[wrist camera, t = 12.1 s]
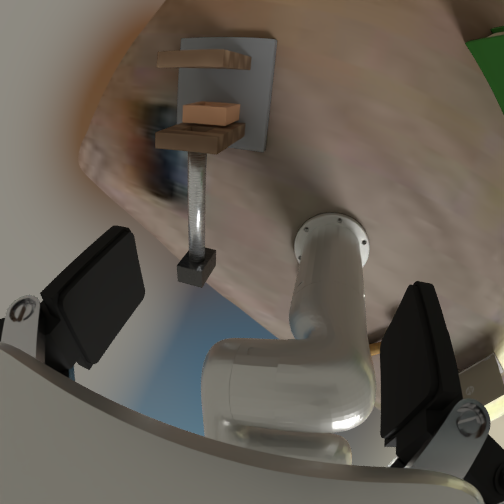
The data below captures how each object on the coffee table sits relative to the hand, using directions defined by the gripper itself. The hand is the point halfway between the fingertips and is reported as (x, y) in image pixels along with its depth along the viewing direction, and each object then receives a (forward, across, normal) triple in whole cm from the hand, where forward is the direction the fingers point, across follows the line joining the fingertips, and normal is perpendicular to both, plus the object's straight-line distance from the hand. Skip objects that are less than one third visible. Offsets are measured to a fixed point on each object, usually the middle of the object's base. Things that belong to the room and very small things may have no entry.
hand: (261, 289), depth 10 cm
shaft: (+30, +14, +13) cm, 36 cm away
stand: (+35, +14, -3) cm, 38 cm away
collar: (+35, +14, -1) cm, 37 cm away
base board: (+36, +14, -3) cm, 39 cm away
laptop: (+36, -54, +50) cm, 82 cm away
